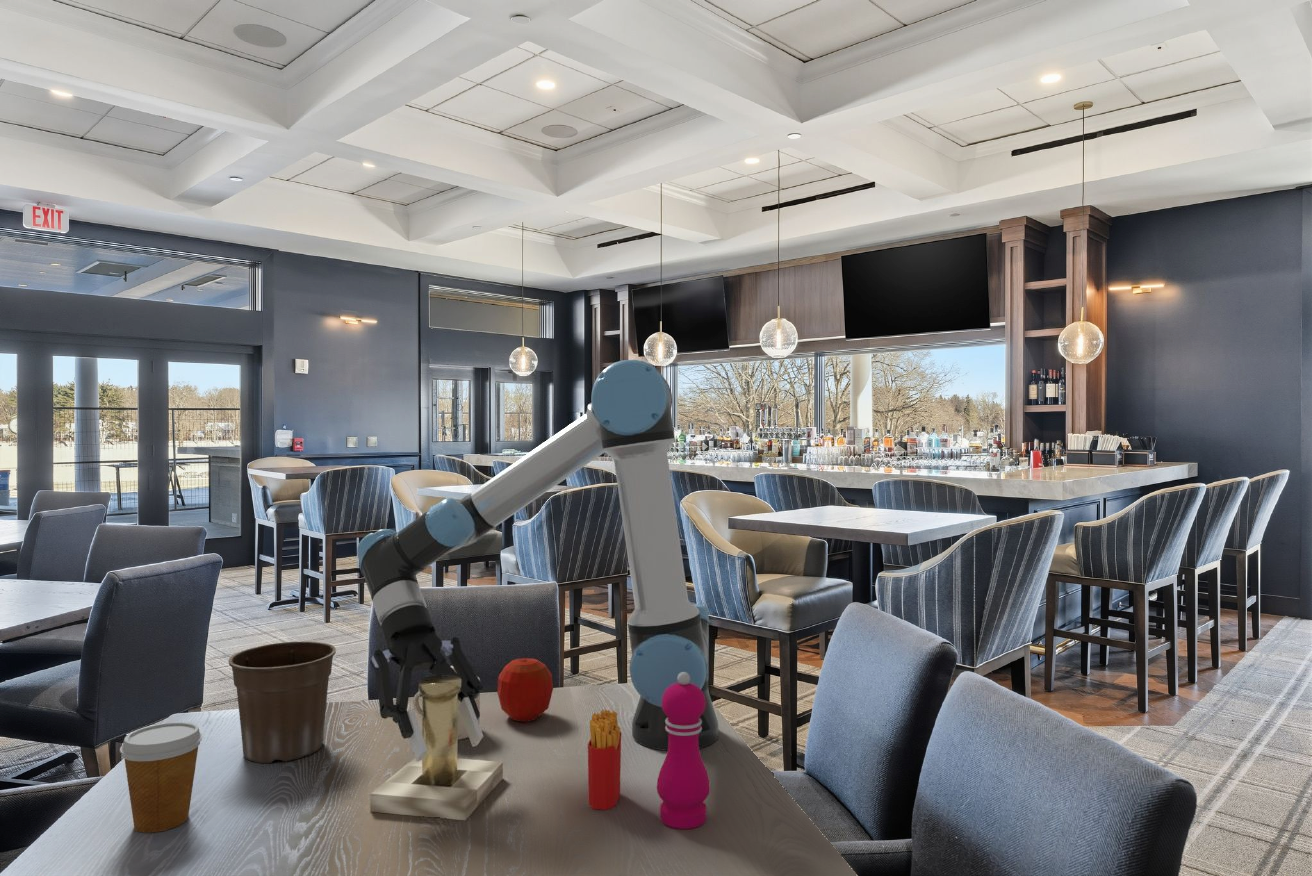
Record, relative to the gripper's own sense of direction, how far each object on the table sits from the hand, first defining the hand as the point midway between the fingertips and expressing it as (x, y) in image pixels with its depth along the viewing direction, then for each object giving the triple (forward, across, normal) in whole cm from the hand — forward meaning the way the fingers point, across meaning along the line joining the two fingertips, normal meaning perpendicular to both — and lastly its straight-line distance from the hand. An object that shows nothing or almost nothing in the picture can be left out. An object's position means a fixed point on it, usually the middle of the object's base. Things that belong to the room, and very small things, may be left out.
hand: (450, 748), depth 116 cm
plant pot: (-20, +12, -31) cm, 39 cm away
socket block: (+3, 0, -8) cm, 8 cm away
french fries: (+15, -17, +4) cm, 23 cm away
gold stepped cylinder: (+3, 0, -8) cm, 8 cm away
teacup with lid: (-13, -12, -24) cm, 30 cm away
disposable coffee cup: (-8, +32, -19) cm, 39 cm away
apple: (-11, -27, -22) cm, 37 cm away
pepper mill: (+23, -22, +12) cm, 34 cm away
